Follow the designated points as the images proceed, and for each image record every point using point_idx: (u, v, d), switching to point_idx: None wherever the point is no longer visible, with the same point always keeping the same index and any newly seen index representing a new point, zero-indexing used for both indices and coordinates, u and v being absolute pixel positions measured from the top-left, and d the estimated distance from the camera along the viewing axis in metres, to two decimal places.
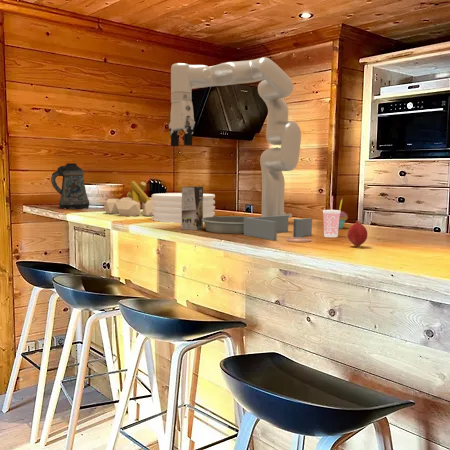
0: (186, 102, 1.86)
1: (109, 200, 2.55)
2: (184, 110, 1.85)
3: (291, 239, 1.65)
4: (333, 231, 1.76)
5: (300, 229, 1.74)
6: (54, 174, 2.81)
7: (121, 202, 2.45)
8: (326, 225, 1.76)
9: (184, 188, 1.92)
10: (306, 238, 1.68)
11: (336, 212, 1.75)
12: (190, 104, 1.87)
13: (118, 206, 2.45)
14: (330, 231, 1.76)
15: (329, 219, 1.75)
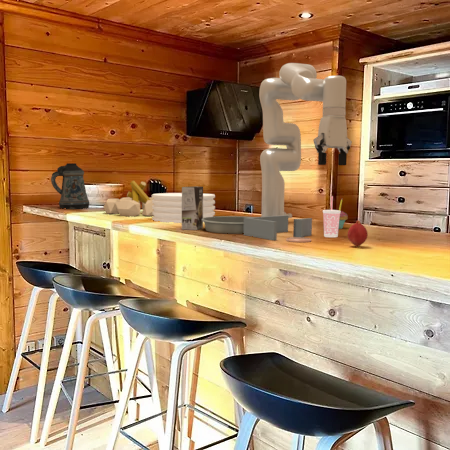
0: None
1: (109, 200, 2.55)
2: None
3: (291, 239, 1.65)
4: (333, 231, 1.76)
5: (300, 229, 1.74)
6: (54, 174, 2.81)
7: (121, 202, 2.45)
8: (326, 225, 1.76)
9: (184, 188, 1.92)
10: (306, 238, 1.68)
11: (336, 212, 1.75)
12: None
13: (118, 206, 2.45)
14: (330, 231, 1.76)
15: (329, 219, 1.75)
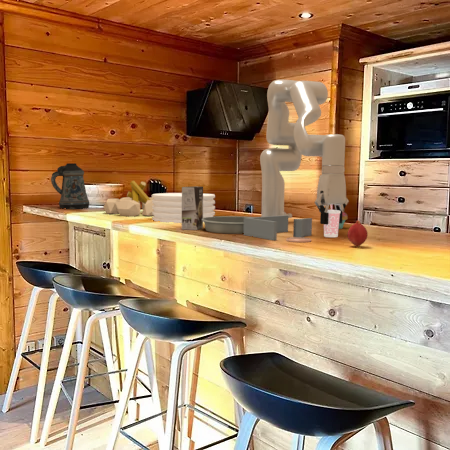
0: None
1: (109, 200, 2.55)
2: None
3: (291, 239, 1.65)
4: (334, 231, 1.76)
5: (300, 229, 1.74)
6: (54, 174, 2.81)
7: (121, 202, 2.45)
8: (326, 225, 1.76)
9: (184, 188, 1.92)
10: (306, 238, 1.68)
11: (336, 212, 1.75)
12: None
13: (118, 206, 2.45)
14: (330, 231, 1.76)
15: (329, 219, 1.75)
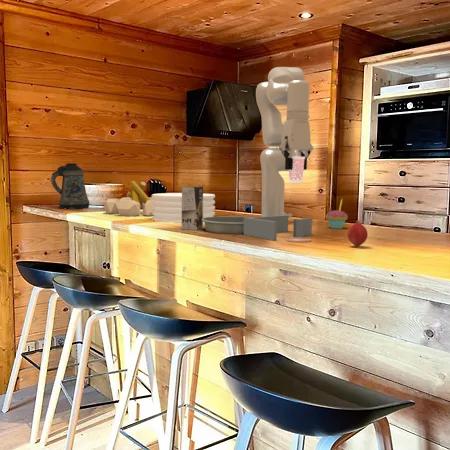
0: None
1: (109, 200, 2.56)
2: None
3: (291, 239, 1.65)
4: (298, 176, 1.79)
5: (300, 229, 1.74)
6: (54, 174, 2.81)
7: (121, 202, 2.45)
8: (290, 170, 1.80)
9: (184, 188, 1.92)
10: (306, 238, 1.68)
11: (300, 157, 1.78)
12: None
13: (118, 206, 2.45)
14: (295, 177, 1.79)
15: (294, 164, 1.79)
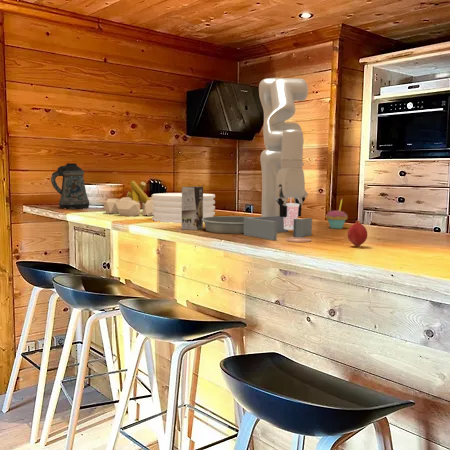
0: None
1: (109, 200, 2.56)
2: None
3: (291, 239, 1.65)
4: (292, 224, 1.81)
5: (300, 229, 1.74)
6: (54, 174, 2.81)
7: (121, 202, 2.45)
8: (285, 218, 1.82)
9: (184, 188, 1.92)
10: (306, 238, 1.68)
11: (294, 205, 1.80)
12: None
13: (118, 206, 2.45)
14: (289, 224, 1.81)
15: (288, 212, 1.80)
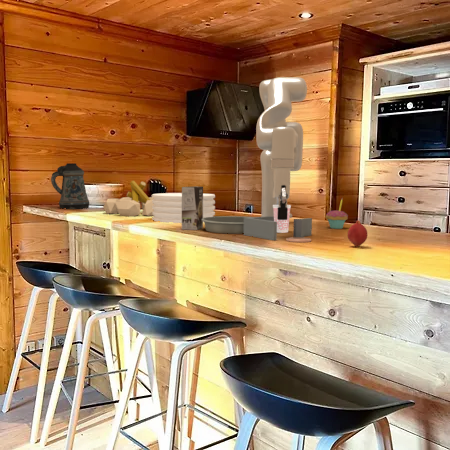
0: None
1: (109, 200, 2.56)
2: None
3: (291, 239, 1.65)
4: (288, 226, 1.73)
5: (300, 229, 1.74)
6: (54, 174, 2.81)
7: (121, 202, 2.46)
8: (282, 220, 1.71)
9: (184, 188, 1.92)
10: (306, 238, 1.68)
11: (290, 206, 1.72)
12: None
13: (118, 206, 2.45)
14: (286, 226, 1.72)
15: None
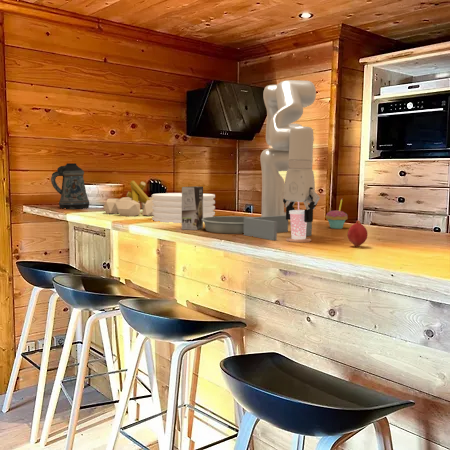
0: None
1: (109, 200, 2.56)
2: None
3: (291, 239, 1.65)
4: None
5: None
6: (54, 174, 2.81)
7: (121, 202, 2.46)
8: (304, 226, 1.65)
9: (184, 188, 1.92)
10: (306, 238, 1.68)
11: None
12: None
13: (118, 206, 2.45)
14: None
15: None
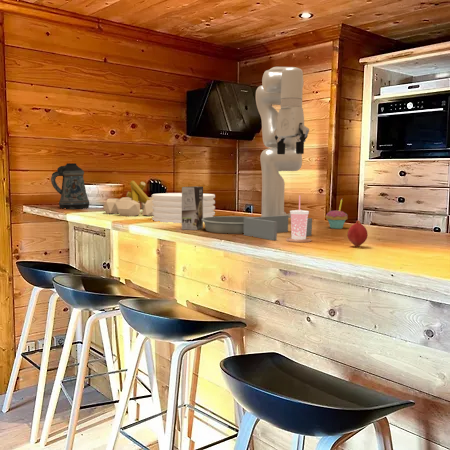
0: None
1: (109, 200, 2.56)
2: None
3: (291, 239, 1.65)
4: None
5: None
6: (54, 174, 2.81)
7: (121, 202, 2.46)
8: (304, 227, 1.65)
9: (184, 188, 1.92)
10: (306, 238, 1.68)
11: None
12: None
13: (118, 206, 2.45)
14: None
15: (307, 219, 1.65)
